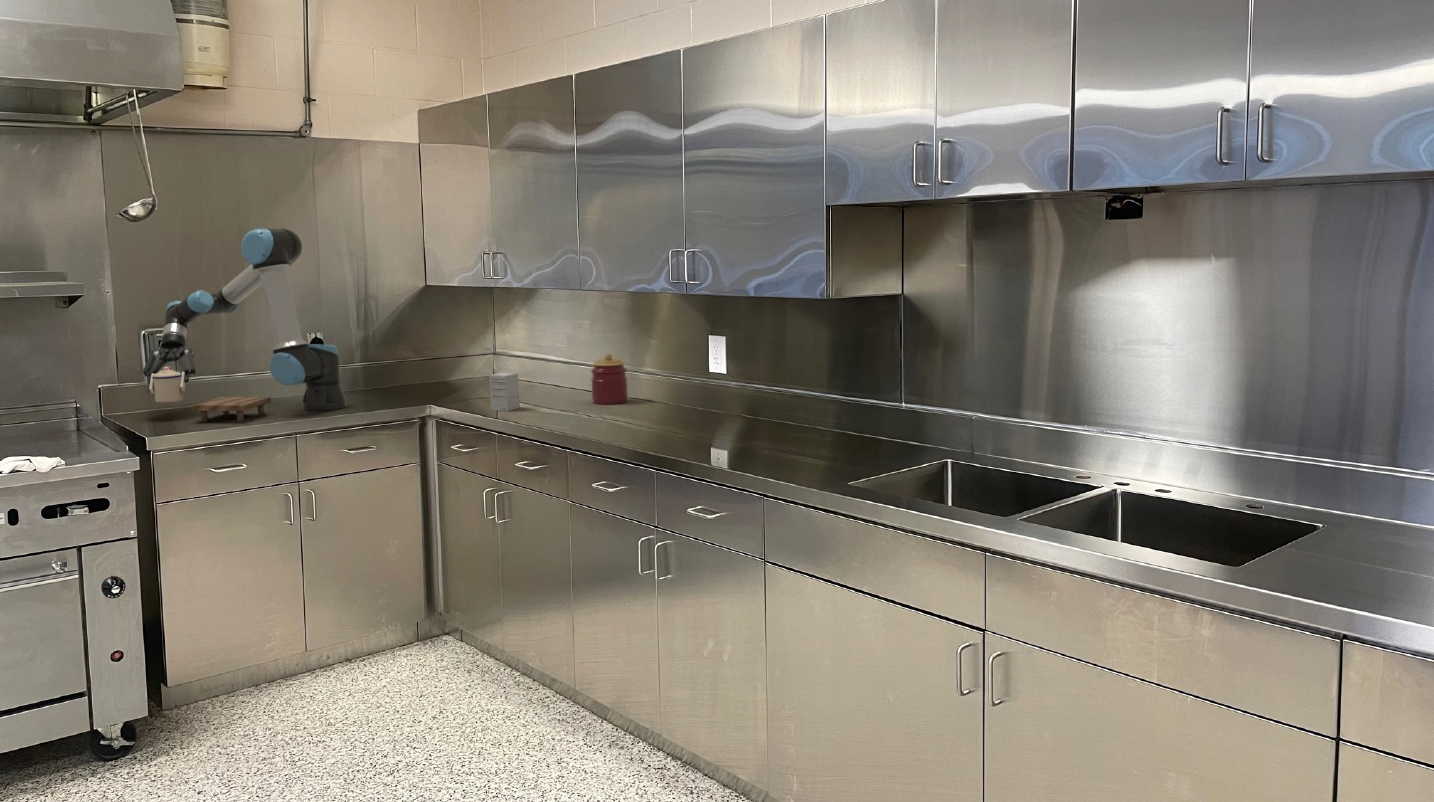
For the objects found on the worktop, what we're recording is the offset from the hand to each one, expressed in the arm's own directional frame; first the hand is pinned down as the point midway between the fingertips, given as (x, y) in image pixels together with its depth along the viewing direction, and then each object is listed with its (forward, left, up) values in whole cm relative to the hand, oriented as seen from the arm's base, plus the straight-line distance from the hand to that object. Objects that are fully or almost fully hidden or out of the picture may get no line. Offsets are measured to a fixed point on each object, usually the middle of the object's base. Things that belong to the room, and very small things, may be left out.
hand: (167, 389), depth 363 cm
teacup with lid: (+2, -3, -4) cm, 5 cm away
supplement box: (-111, -23, -11) cm, 114 cm away
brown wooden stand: (-21, -3, -10) cm, 24 cm away
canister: (-145, -39, -11) cm, 151 cm away
